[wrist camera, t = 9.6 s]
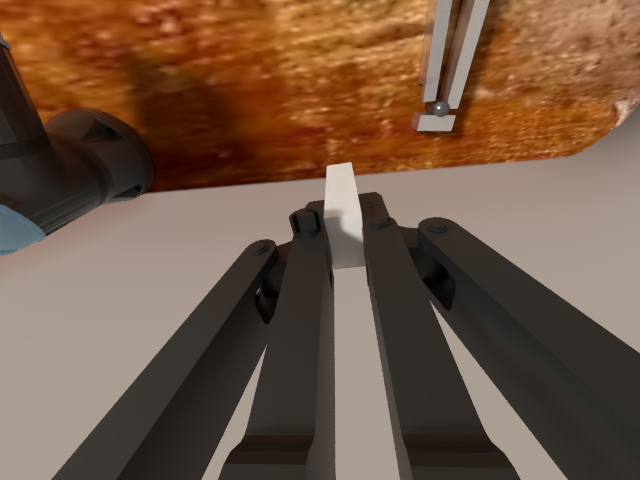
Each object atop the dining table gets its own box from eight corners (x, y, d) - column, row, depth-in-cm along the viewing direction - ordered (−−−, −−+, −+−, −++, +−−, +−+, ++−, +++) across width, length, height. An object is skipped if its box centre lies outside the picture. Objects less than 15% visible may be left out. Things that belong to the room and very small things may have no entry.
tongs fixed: (443, 126, 37) (455, 132, 33) (410, 126, 37) (419, 132, 33) (498, -76, 25) (526, -102, 22) (451, -75, 25) (471, -100, 22)
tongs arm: (428, 98, 35) (437, 100, 31) (414, 99, 35) (422, 102, 32) (454, -73, 25) (471, -94, 22) (435, -70, 26) (449, -90, 23)
